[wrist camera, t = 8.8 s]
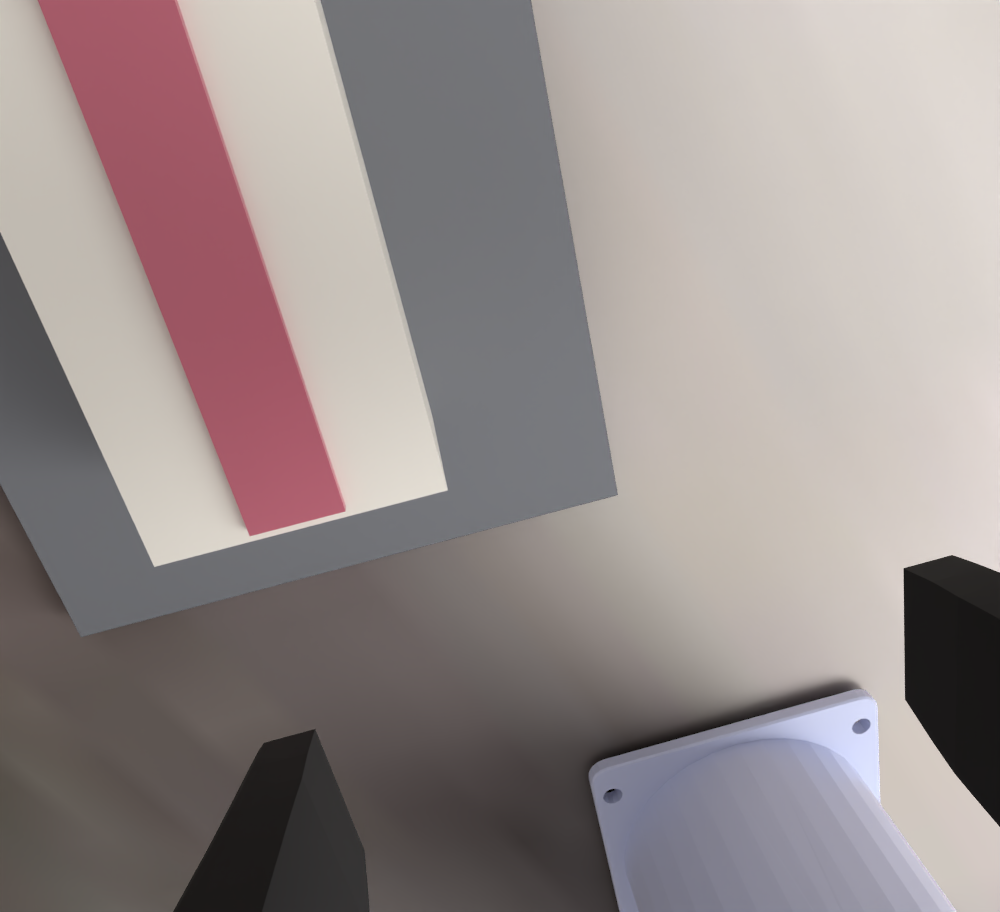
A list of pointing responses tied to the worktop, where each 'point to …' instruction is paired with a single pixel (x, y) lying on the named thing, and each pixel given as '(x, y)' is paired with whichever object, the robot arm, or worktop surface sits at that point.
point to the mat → (429, 313)
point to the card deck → (210, 264)
